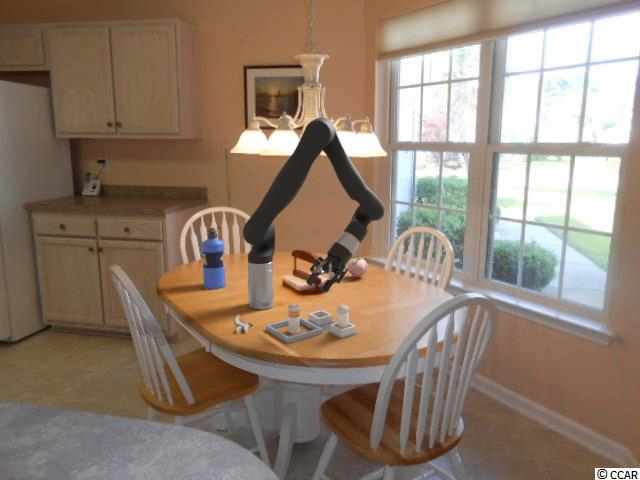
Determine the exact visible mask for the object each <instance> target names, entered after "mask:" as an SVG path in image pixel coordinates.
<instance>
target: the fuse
mask: <svg viewBox="0 0 640 480" xmlns="http://www.w3.org/2000/svg"><path fill="white" fill-rule="evenodd" d="M336 311H337V323H338V327H339V328H341V329H344V328H348V327H349V323H350V317H349V315H350V314H349V313H350V306H349V305H342V304H341V305H338V306H337V308H336Z"/></svg>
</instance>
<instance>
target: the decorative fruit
mask: <svg viewBox="0 0 640 480" xmlns="http://www.w3.org/2000/svg"><path fill="white" fill-rule="evenodd" d="M347 268H348V273H350V274H351V276H353V277H355V278H357V279H359V278H361V277H362V276H364V275H365V274H366V272H367V270H368V263H367V261H366V260H365V259H364V257H360V256H358V257H357V258H352V259H350V260H349V261H348V263H347Z"/></svg>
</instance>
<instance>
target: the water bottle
mask: <svg viewBox="0 0 640 480" xmlns="http://www.w3.org/2000/svg"><path fill="white" fill-rule="evenodd" d="M206 235H207V239H206V240H204V241H201V243H200V244H201V253H202V258H203V262H202V263H203V265H202V275H203V276H202V277H203V288H204V287H205V288H204V289H206V288H207V290H219V288H221V289H224V288H225V287H226V265H225V261H224V254H225V241H224V240H222V239H219V238H218V230H217V229H216V228H215V227H210V228H209V229H208V230H207V234H206ZM223 287H224V288H223Z"/></svg>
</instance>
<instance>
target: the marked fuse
mask: <svg viewBox="0 0 640 480" xmlns="http://www.w3.org/2000/svg"><path fill="white" fill-rule="evenodd" d="M287 311H288V313H287V314H288V320H289V325H288V328H287V329H288V333H289V334H293V335H298V334H300V333H301V327H300V325H301V323H300V317H301V314H300V312H301V306H300V305H299V304H290V305H288V306H287Z"/></svg>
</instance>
